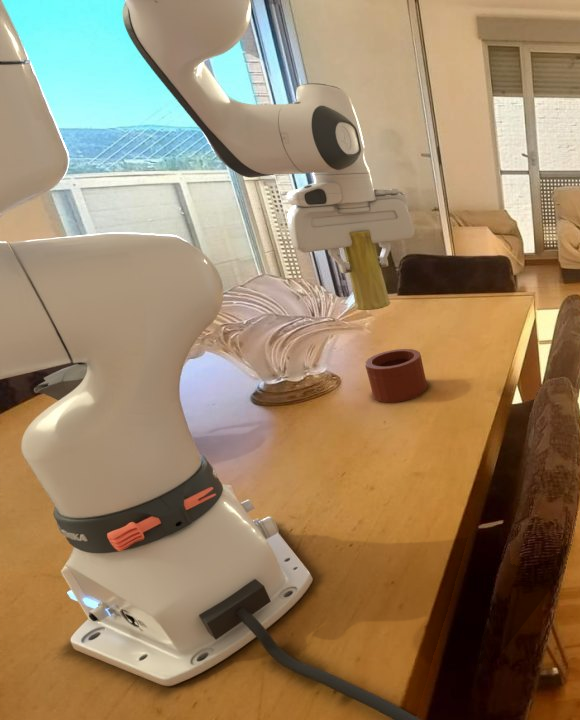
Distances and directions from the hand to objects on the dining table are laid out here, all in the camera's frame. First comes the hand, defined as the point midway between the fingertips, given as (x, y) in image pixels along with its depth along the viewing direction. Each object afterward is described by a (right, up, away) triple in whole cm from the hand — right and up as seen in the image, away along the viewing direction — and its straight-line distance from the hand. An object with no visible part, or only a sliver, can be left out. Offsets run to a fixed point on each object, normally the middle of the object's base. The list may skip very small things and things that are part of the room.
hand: (365, 269), depth 89 cm
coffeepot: (-38, -32, -6) cm, 50 cm away
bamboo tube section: (0, -7, +3) cm, 7 cm away
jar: (+2, -24, +11) cm, 26 cm away
